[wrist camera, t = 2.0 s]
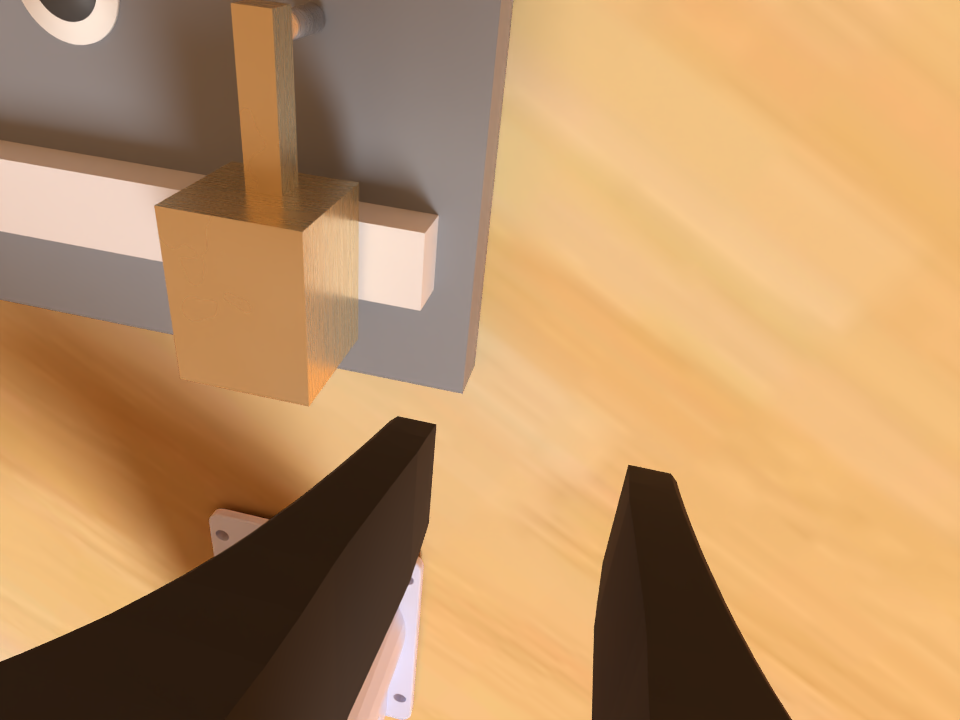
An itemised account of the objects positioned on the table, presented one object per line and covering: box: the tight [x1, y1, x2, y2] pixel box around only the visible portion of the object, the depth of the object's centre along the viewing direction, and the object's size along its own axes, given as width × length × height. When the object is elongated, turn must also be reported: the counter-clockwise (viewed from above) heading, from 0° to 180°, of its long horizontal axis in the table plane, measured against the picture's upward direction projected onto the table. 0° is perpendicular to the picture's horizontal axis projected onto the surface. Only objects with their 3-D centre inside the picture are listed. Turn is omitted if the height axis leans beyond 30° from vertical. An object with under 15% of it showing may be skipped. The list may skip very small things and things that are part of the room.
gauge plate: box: [0, 0, 513, 393], centre depth 17 cm, size 12×22×6 cm, turn 85°
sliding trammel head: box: [154, 0, 359, 406], centre depth 16 cm, size 8×3×4 cm, turn 175°
